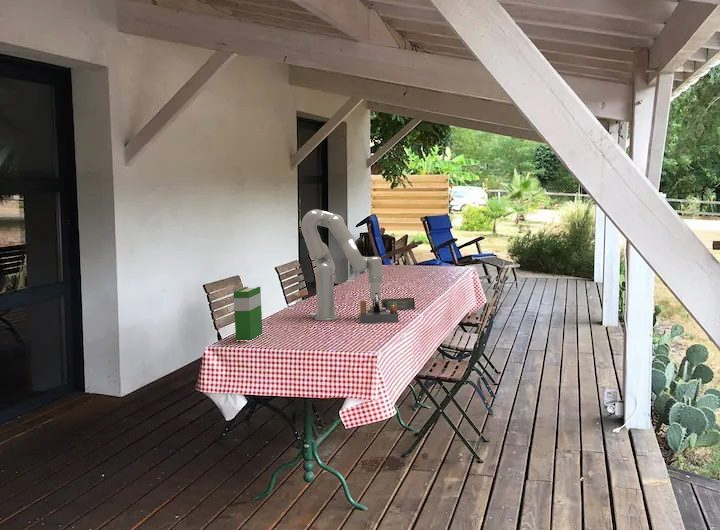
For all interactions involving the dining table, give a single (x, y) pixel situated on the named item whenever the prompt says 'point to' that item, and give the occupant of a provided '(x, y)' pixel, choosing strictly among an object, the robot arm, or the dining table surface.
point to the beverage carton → (398, 303)
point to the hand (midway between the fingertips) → (376, 312)
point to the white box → (371, 309)
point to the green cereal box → (247, 313)
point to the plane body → (377, 315)
